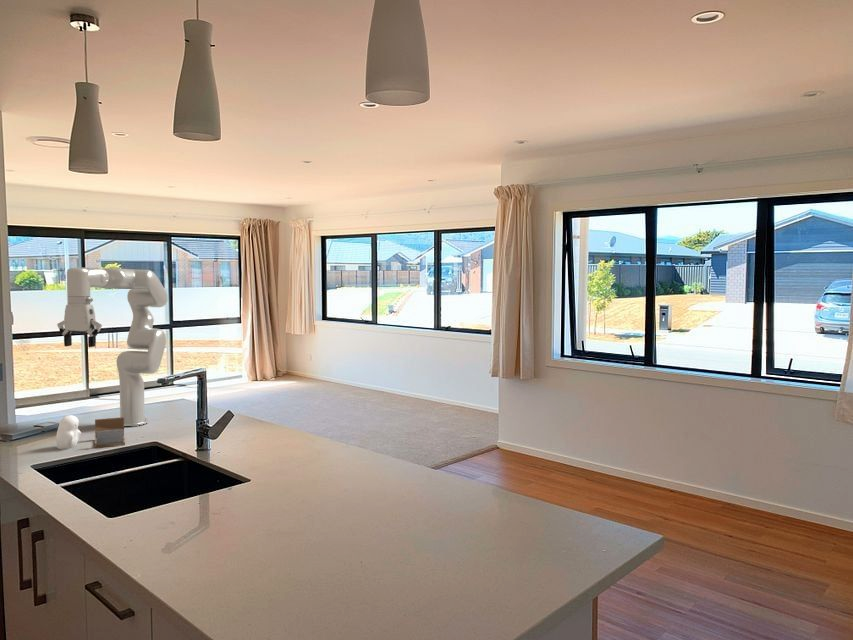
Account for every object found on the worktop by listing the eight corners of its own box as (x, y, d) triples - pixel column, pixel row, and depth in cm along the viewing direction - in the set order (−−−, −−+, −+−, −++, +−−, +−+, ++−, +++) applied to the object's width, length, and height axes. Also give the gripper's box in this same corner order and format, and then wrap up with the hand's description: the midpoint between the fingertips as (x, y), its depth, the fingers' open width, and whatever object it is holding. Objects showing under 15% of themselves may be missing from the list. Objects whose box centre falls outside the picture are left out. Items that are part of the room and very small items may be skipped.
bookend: (96, 442, 234) (96, 429, 234) (123, 440, 238) (123, 427, 238) (96, 445, 230) (96, 432, 230) (123, 442, 235) (123, 429, 234)
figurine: (72, 450, 227) (71, 417, 227) (51, 449, 227) (51, 417, 227) (83, 444, 234) (82, 413, 234) (63, 444, 235) (62, 413, 234)
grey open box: (95, 439, 242) (95, 419, 241) (123, 436, 246) (123, 417, 246) (95, 448, 230) (94, 426, 230) (125, 445, 235) (124, 424, 234)
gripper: (106, 301, 235) (107, 346, 236) (64, 300, 237) (65, 344, 238) (93, 301, 227) (94, 348, 228) (50, 300, 229) (51, 346, 230)
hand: (79, 346), depth 233 cm, fingers open, 9 cm apart
